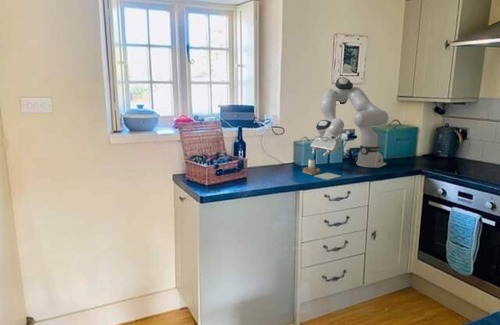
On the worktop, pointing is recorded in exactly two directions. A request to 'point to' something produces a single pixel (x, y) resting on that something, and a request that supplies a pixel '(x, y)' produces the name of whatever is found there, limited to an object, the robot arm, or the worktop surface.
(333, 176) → the tile pad
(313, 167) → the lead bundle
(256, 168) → the worktop surface
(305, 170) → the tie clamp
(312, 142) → the robot arm
